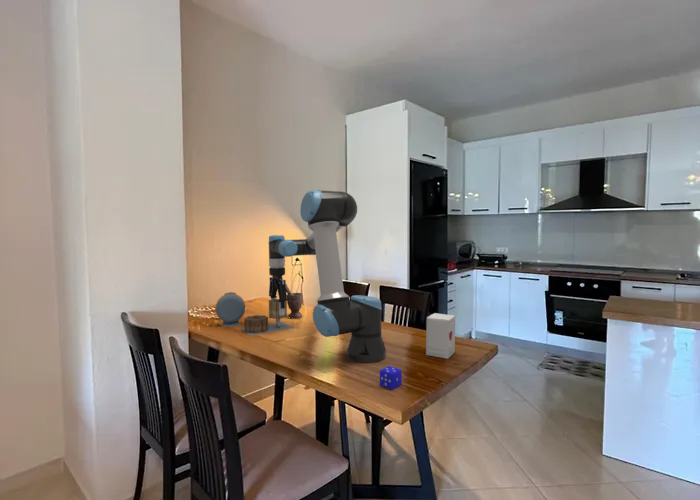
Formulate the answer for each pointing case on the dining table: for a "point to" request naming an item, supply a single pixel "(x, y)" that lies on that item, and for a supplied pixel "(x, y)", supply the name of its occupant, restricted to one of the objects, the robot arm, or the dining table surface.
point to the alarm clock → (230, 309)
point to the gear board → (273, 327)
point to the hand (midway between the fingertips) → (277, 313)
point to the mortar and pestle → (294, 303)
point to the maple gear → (276, 309)
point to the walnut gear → (256, 324)
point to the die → (390, 377)
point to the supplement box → (440, 335)
